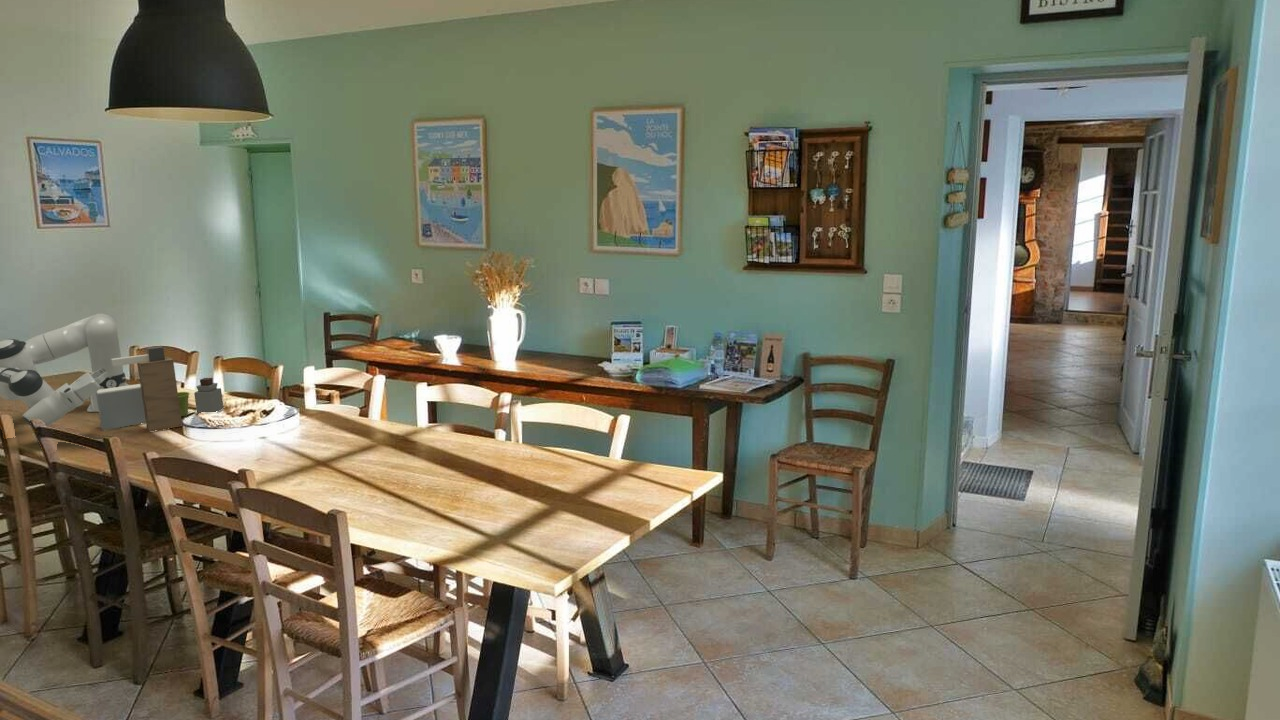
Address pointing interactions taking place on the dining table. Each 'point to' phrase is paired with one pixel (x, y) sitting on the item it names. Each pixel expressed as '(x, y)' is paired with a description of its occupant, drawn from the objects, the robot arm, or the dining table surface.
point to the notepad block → (120, 406)
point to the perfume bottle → (208, 396)
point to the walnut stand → (159, 394)
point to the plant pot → (183, 402)
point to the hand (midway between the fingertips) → (106, 371)
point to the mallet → (141, 357)
